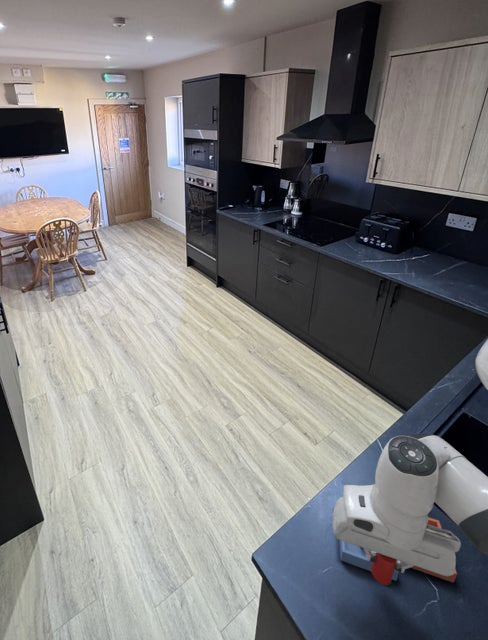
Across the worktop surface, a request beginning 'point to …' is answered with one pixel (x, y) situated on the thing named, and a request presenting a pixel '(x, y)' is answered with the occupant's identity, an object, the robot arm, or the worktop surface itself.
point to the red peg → (383, 568)
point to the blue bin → (357, 557)
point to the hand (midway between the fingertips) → (383, 562)
